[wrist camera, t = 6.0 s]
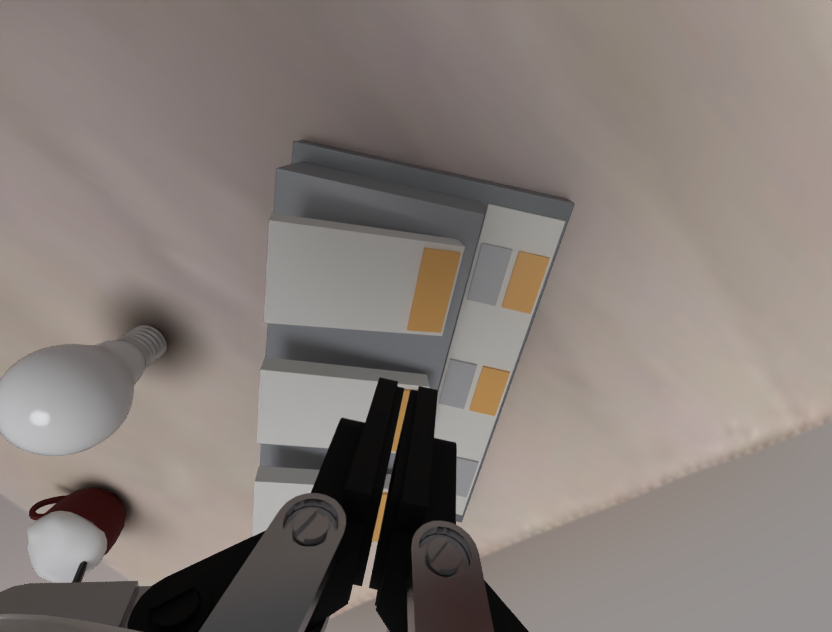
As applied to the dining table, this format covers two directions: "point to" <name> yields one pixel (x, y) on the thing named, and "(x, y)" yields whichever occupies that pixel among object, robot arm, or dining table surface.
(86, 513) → the cocoa
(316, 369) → the switch
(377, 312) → the switch
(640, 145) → the dining table surface
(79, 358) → the lightbulb
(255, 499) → the switch
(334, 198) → the switch unit
